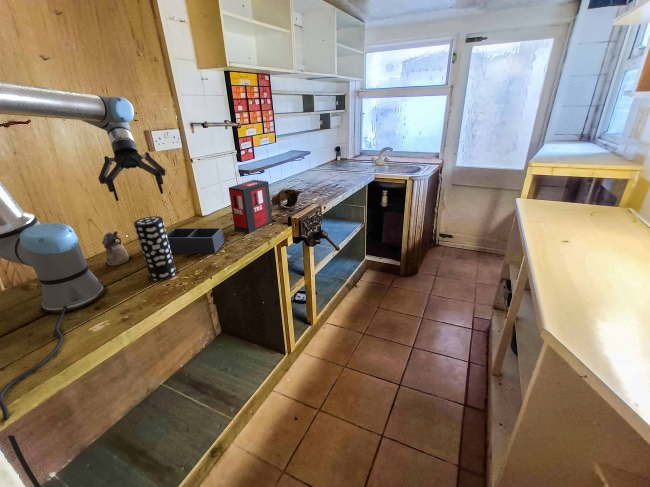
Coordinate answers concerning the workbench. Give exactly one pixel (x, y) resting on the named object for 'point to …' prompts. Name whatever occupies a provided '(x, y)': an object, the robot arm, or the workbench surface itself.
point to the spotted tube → (155, 247)
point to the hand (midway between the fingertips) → (140, 195)
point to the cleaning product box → (250, 205)
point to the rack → (195, 240)
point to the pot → (286, 197)
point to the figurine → (114, 249)
